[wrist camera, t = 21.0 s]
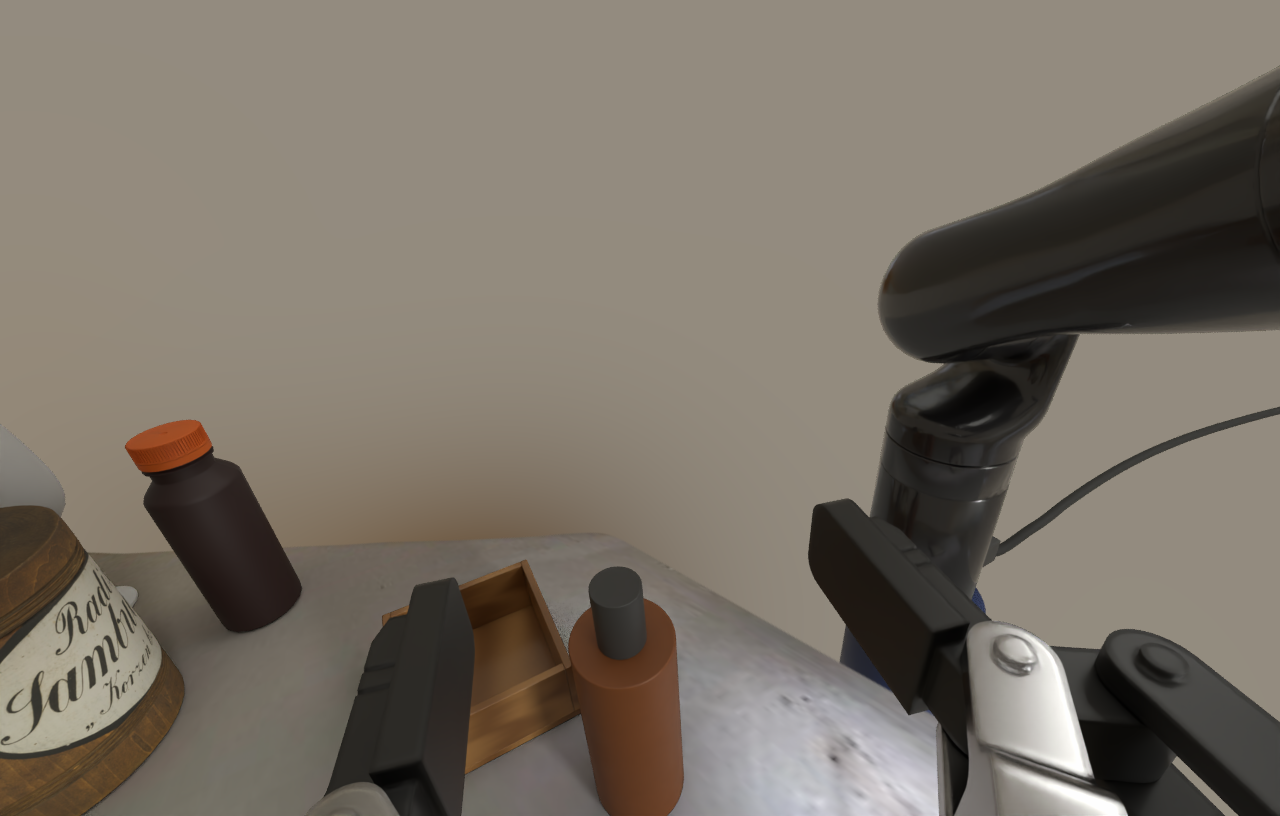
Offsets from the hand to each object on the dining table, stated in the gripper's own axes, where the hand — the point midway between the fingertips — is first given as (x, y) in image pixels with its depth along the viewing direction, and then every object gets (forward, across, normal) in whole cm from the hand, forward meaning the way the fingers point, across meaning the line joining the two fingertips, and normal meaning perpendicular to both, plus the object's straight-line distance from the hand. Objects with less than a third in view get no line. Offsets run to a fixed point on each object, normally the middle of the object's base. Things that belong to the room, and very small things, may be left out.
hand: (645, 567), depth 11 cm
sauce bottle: (+11, 0, +30) cm, 32 cm away
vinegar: (+35, +33, +30) cm, 57 cm away
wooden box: (+21, +11, +30) cm, 38 cm away
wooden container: (+24, +43, +30) cm, 57 cm away
